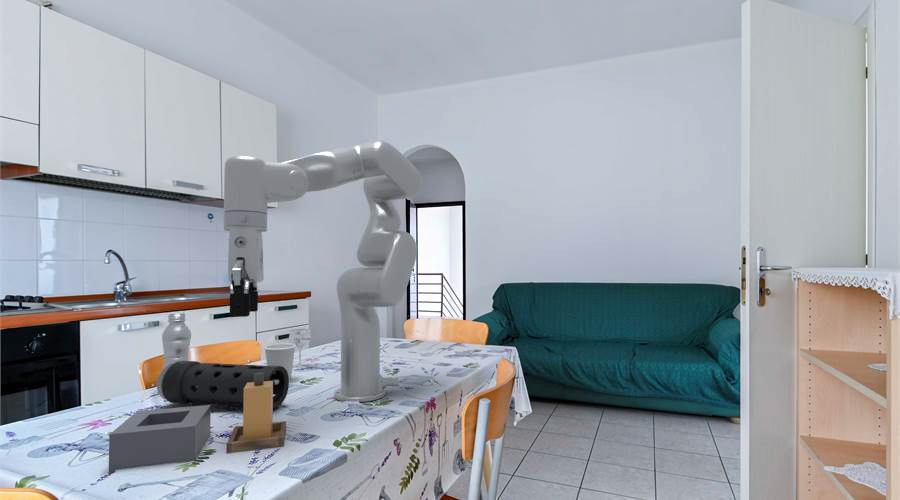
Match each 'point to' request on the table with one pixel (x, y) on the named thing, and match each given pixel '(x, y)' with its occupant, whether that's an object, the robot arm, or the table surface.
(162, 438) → the socket block
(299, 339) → the wineglass
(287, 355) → the dixie cup
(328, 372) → the table surface
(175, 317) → the plastic bottle
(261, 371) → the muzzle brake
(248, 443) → the tray
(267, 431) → the plug
